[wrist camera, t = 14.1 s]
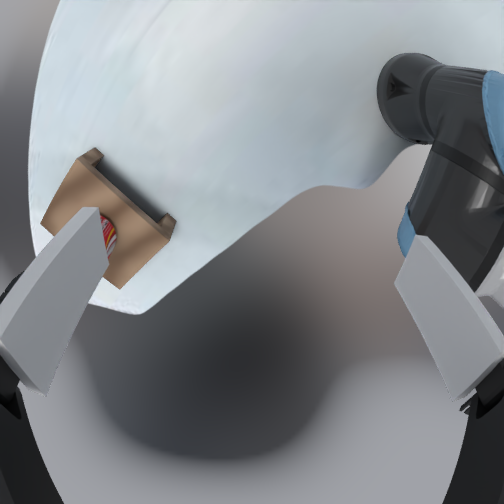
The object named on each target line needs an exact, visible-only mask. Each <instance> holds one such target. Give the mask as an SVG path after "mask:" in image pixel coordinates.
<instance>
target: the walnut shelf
mask: <svg viewBox="0 0 504 504" xmlns="http://www.w3.org/2000/svg"><path fill="white" fill-rule="evenodd" d="M103 156H104V155H103V154H102V153H101V152H100V151H98V150H97V149H96V148H93V149H92V150H90V151H88V152H87V153H85V154H83V155H82V156H80V157H79V158H77V159H76V160H75V162H74V164H73V165H72V167H71V168H70V170H69V172H68V173H67V175H66V177H65V178H64V180H63V182H62V183H61V185H60V187H59V189H58V190H57V192H56V194H55V196H54V198H53V199H52V201H51V203H50V205H49V207H48V209H47V211H46V213H45V215H44V217H43V219H42V221H41V223H40V224H41V225H42V226H43V227H44V228H45V229H47V230H48V231H49V232H50V233H51V234H52V235H53V236H55V235H56V234H57V233H58V232H59V231H60V230H61V229H62V228H63V227H64V226H65V225H66V224H67V223H68V221H69V220H70V219H71V218H72V217H73V216H74V215H75V214H76V213H77V212H78V211H79V210H80V209H81V208H82V207H99V213H100V215H101V216H103V217H104V218H106V219H107V220H108V221H109V222H110V223H111V224H112V226H113V227H114V229H115V232H116V244H115V246H114V249H113V251H112V253H111V255H110V257H109V259H108V261H109V266H108V268H107V269H106V271H105V273H104V274H103V276H102V277H104V278H105V279H106V280H108V281H109V282H110V283H111V284H113V285H114V286H115V287H117V288H118V289H121V288H122V287H123V286H124V285H125V284H126V283H127V282H128V281H129V280H130V279H131V278H132V277H133V276H134V275H135V274H136V273H137V272H138V271H139V270H140V269H141V268H142V267H143V266H144V265H145V264H146V263H147V262H148V261H149V260H150V259H151V258H152V257H153V256H154V255H155V254H156V253H157V252H158V251H159V250H160V249H162V248H163V247H164V246H165V245H166V244H167V243H168V242H169V241H170V238H171V235H172V232H173V229H174V227H175V224H176V220H175V219H174V218H172V217H171V216H170V215H169V214H168V213H167V214H166V215H165V216H164V217H163V218H162V219H161V220H160V221H159V222H158V223H156V222H155V221H154V220H153V219H151V218H150V217H149V216H148V215H147V214H146V213H144V212H143V211H142V210H141V209H140V208H139V207H138V206H136V205H135V204H134V203H133V202H132V201H131V200H130V199H129V198H127V197H126V196H125V195H124V194H123V193H122V192H121V191H120V190H119V189H117V188H116V187H115V186H114V185H113V184H112V183H111V182H110V181H109V180H107V179H106V178H105V177H104V176H103V175H102V174H101V173H100V172H99V171H98V170H97V169H96V168H95V167H96V165H97V164H98V162H99V161H100V160H101V158H102V157H103Z"/></svg>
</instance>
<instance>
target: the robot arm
mask: <svg viewBox="0 0 504 504" xmlns="http://www.w3.org/2000/svg"><path fill="white" fill-rule="evenodd" d="M377 96H378V103H379V107H380V110H381V113H382V115H383V117H384V119H385V121H386V123H387V124H388V125H389V127H390V128H391V129H392V130H393V131H394V132H395V133H396V134H398V135H399V136H400V137H402V138H404V139H406V140H409V141H411V142H413V143H416V144H422V145H423V144H424V145H426V144H433V145H432V148H431V150H430V152H429V155H428V158H427V160H426V164H425V166H424V168H423V171H422V173H421V176H420V179H419V181H418V183H417V186H416V188H415V190H414V193H413V195H412V197H411V199H410V202H408V203H407V205H406V208H405V213H404V216H403V218H402V221H401V224H400V226H399V228H398V233H397V238H398V243H399V246H400V249H401V251H402V254H403V255H404V257H405V261H404V263H403V265H402V267H401V269H400V272H399V274H398V276H397V278H396V280H395V282H394V285H395V287H396V288H397V290H398V292H399V294H400V295H401V297H402V299H403V300H404V303H405V304H406V306H407V308H408V310H409V312H410V313H411V315H412V317H413V319H414V321H415V323H416V324H417V326H418V328H419V330H420V332H421V334H422V336H423V338H424V340H425V342H426V344H427V346H428V348H429V350H430V352H431V355H432V357H433V359H434V361H435V363H436V365H437V367H438V370H439V372H440V374H441V376H442V378H443V381H444V383H445V386H446V388H447V390H448V393H449V395H450V398H451V400H452V402H453V401H456V400H459V399H461V398H464V397H465V396H467V395H468V394H469V393H470V392H471V391H472V390H473V389H474V388H476V391H477V393H476V394H474V395H473V396H472V397H471V398H470V399H469V400H468V401H467V402H465V404H463V405H462V406H461V408H460V411H462V410H464V409H465V408H466V407H467V406H468V405H470V407H469V408H468V409H466V411H465V412H464V413H465V414H468V415H469V417H468V422H467V427H466V431H465V436H464V440H463V444H462V448H461V451H460V455H459V459H458V462H457V465H456V468H455V471H454V474H453V477H452V480H451V483H450V486H449V488H448V491H447V494H446V496H445V499H444V501H443V503H442V504H504V336H503V334H502V333H501V331H500V330H499V328H498V327H497V325H496V324H495V322H494V320H493V319H492V317H491V316H490V314H489V313H488V311H487V310H486V309H485V307H484V306H483V304H482V303H481V302H480V300H479V299H478V297H479V296H485V295H488V296H490V297H492V298H493V299H494V300H495V301H496V302H497V303H498V304H499V305H500V306H501V307H502V308H503V309H504V74H501V73H499V72H496V71H493V70H491V71H487V70H480V69H474V68H466V67H457V66H446V65H444V64H442V63H440V62H438V61H436V60H435V59H433V58H431V57H429V56H427V55H424V54H419V53H404V54H400V55H397V56H395V57H393V58H392V59H391V60H389V61H388V62H387V64H386V65H385V66H384V68H383V69H382V71H381V74H380V76H379V80H378V87H377ZM108 266H109V261H108V257H107V252H106V247H105V242H104V237H103V231H102V225H101V219H100V213H99V207H82V208H81V209H80V210H79V211H78V212H77V213H76V214H75V215H74V216H73V217H72V218H71V219H70V220H69V221H68V223H67V224H66V225H65V226H64V227H63V228H62V229H61V230H60V231H59V232H58V233H57V234H56V235H55V236H54V237H53V239H52V240H51V241H50V242H49V243H48V244H47V245H46V246H45V248H44V249H43V250H42V251H41V252H40V253H39V255H38V256H37V257H36V258H35V259H34V261H33V262H32V263H31V264H30V266H29V267H28V268H27V269H26V270H25V271H23V272H22V273H21V274H19V275H18V276H17V277H15V278H14V279H13V280H12V281H11V283H10V284H9V285H8V287H7V288H6V289H5V293H4V292H3V293H2V295H1V296H0V504H64V503H63V501H62V499H61V497H60V495H59V493H58V491H57V489H56V487H55V485H54V483H53V481H52V479H51V477H50V475H49V473H48V471H47V468H46V466H45V464H44V461H43V459H42V456H41V454H40V451H39V449H38V446H37V444H36V441H35V438H34V435H33V432H32V429H31V426H30V423H29V419H28V416H27V413H26V409H25V406H24V402H23V398H22V394H21V392H20V389H19V388H18V387H17V385H18V383H19V381H21V382H22V383H23V384H24V385H25V386H26V387H27V388H28V389H29V390H31V391H33V392H35V393H38V394H40V395H43V396H45V397H46V396H47V393H48V391H49V388H50V385H51V383H52V380H53V378H54V375H55V373H56V370H57V368H58V365H59V363H60V361H61V358H62V356H63V354H64V351H65V349H66V347H67V345H68V342H69V340H70V338H71V336H72V334H73V332H74V330H75V327H76V325H77V323H78V321H79V319H80V317H81V315H82V313H83V311H84V309H85V307H86V305H87V304H88V302H89V300H90V298H91V296H92V294H93V292H94V291H95V289H96V287H97V285H98V283H99V282H100V280H101V278H102V276H103V274H104V273H105V271H106V269H107V268H108Z"/></svg>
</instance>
